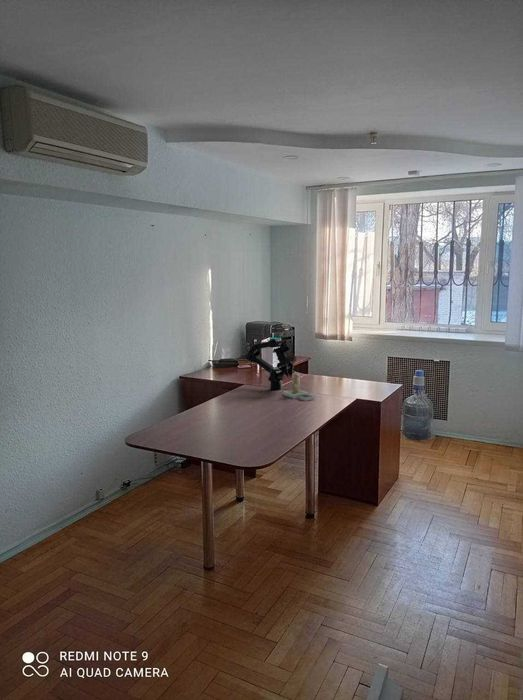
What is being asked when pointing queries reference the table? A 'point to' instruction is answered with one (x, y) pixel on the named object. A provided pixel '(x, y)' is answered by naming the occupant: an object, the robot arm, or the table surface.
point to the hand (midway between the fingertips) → (290, 377)
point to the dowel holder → (305, 397)
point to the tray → (289, 394)
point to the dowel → (295, 383)
